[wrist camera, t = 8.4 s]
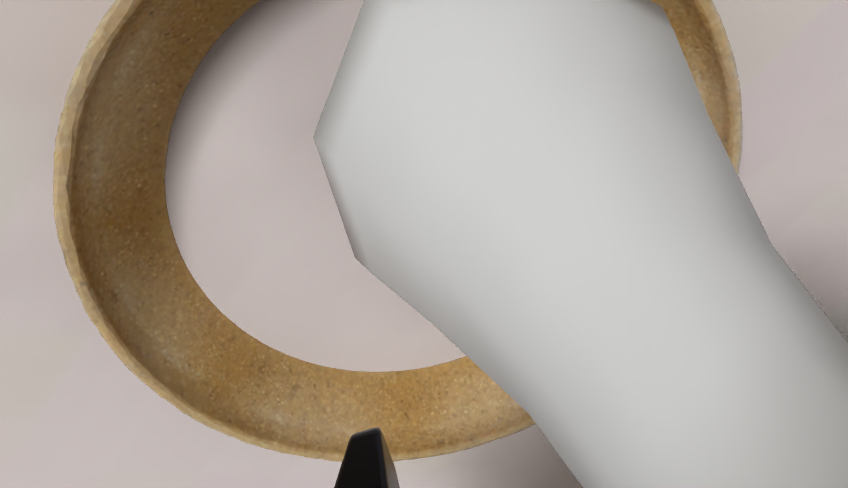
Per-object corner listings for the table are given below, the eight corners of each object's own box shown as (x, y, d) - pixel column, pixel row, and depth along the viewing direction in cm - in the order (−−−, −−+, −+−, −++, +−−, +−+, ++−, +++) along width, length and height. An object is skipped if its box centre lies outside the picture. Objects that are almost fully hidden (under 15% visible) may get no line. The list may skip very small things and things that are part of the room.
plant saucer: (274, 457, 20) (275, 530, 18) (-84, 22, 12) (-165, 63, 9) (698, 287, 20) (749, 342, 18) (645, -286, 11) (733, -317, 9)
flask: (609, 276, 15) (1008, 790, 7) (310, 285, 13) (364, 976, 5) (712, -45, 11) (1886, 248, 3) (315, -85, 10) (529, 303, 1)
